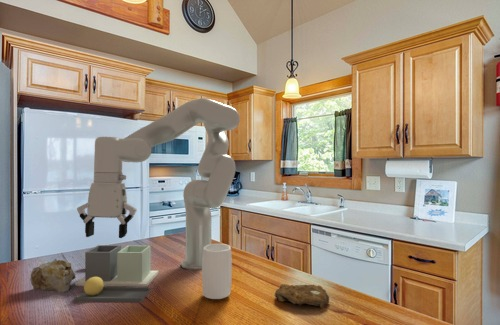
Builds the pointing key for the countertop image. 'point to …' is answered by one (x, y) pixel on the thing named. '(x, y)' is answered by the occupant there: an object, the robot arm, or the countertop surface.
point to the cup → (216, 271)
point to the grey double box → (119, 265)
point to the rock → (53, 276)
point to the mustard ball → (93, 286)
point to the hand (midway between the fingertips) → (106, 236)
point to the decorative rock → (302, 294)
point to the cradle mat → (115, 295)
